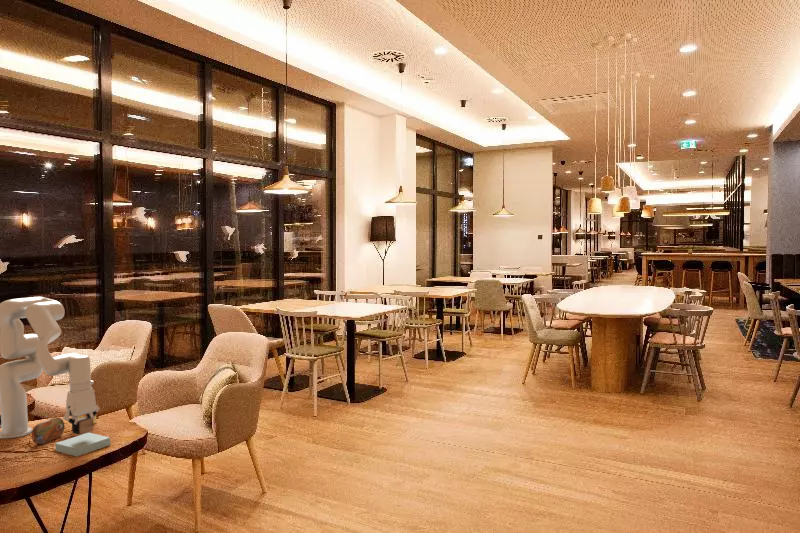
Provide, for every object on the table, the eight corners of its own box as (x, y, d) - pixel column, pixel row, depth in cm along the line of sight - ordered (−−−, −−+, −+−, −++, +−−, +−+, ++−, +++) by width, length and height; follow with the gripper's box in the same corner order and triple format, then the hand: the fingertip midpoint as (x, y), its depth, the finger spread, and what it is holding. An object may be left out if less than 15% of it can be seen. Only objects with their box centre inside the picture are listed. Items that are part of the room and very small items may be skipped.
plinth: (55, 450, 230) (55, 443, 230) (89, 439, 242) (88, 432, 242) (77, 456, 223) (76, 448, 223) (110, 444, 236) (110, 437, 235)
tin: (37, 447, 235) (36, 426, 234) (30, 446, 235) (29, 426, 235) (65, 434, 249) (64, 415, 249) (59, 434, 250) (58, 414, 250)
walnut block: (73, 433, 231) (72, 420, 231) (85, 429, 236) (84, 417, 236) (80, 434, 229) (80, 422, 229) (92, 431, 233) (92, 418, 233)
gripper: (94, 380, 241) (96, 423, 242) (53, 390, 226) (56, 436, 227) (106, 382, 237) (108, 426, 238) (65, 392, 222) (67, 439, 223)
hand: (82, 430), depth 232 cm, fingers closed on walnut block, 4 cm apart
